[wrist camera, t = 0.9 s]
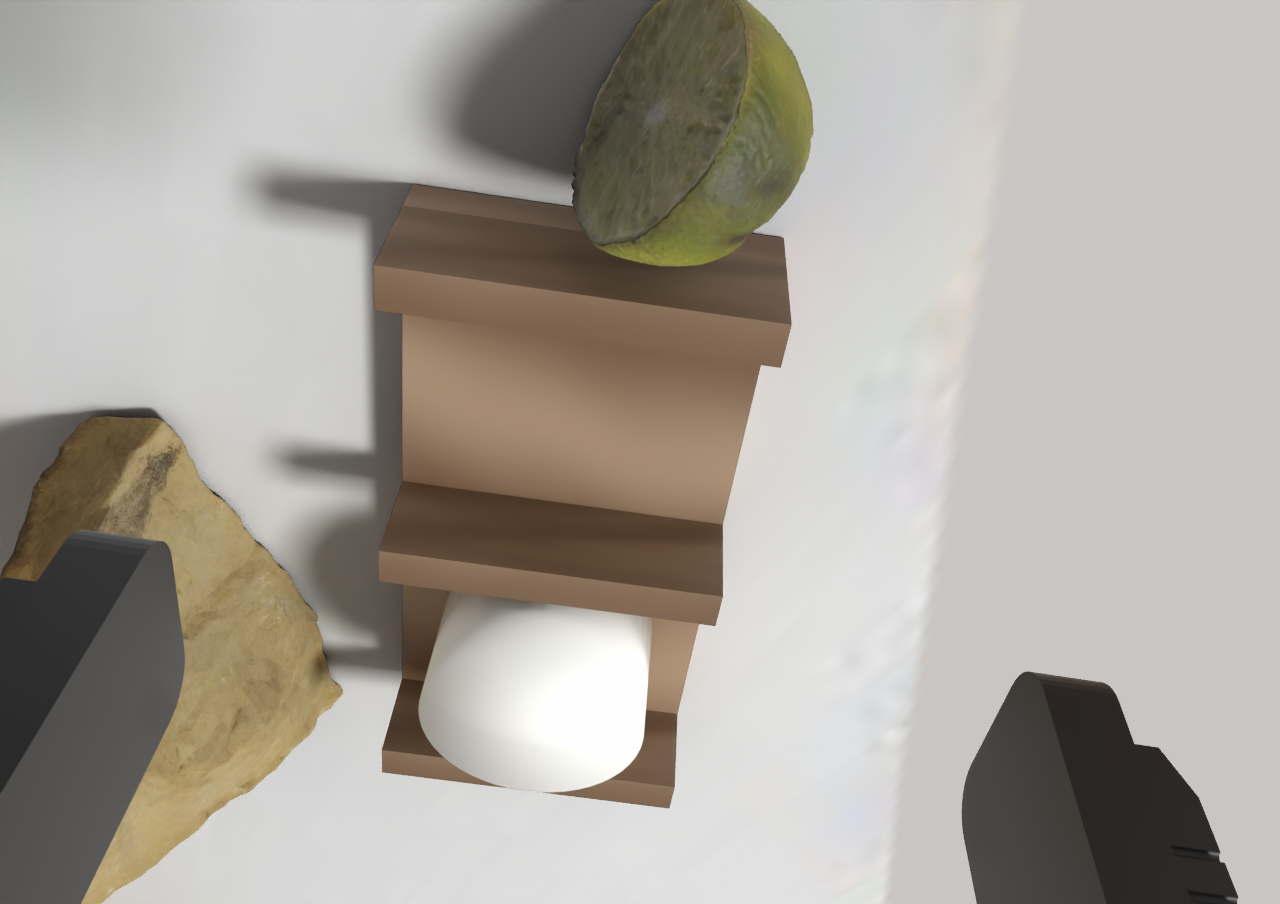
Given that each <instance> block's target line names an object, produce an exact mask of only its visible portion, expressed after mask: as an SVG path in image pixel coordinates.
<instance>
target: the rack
mask: <svg viewBox="0 0 1280 904" xmlns="http://www.w3.org/2000/svg"><path fill="white" fill-rule="evenodd" d="M373 268H374V310H376V311H384V312H391V313H398V314H402V483H401V486H400V489H399V492H398V495H397V498H396V501H395V504H394V507H393V510H392V513H391V516H390V519H389V521H388V524H387V527H386V530H385V533H384V536H383V539H382V542H381V545H380V548H379V551H378V554H379V582H387V583H395V584H402V681H401V684H400V688H399V691H398V695H397V698H396V702H395V706H394V709H393V713H392V716H391V720H390V723H389V727H388V730H387V734H386V737H385V741H384V745H383V748H382V772H385V773H393V774H401V775H408V776H416V777H424V778H432V779H440V780H448V781H456V782H464V783H472V784H480V785H488V786H496V787H502V786H498V785H495V784H492V783H489V782H486V781H483V780H481V779H479V778H476V777H474V776H472V775H470V774H468V773H466V772H464V771H463V770H461V769H459V768H458V767H456V766H455V765H453V764H452V763H450V762H449V761H448V760H447V759H445V758H444V757H443V756H442V755H441V754H440V753H439V752H438V751H437V750H436V749H435V748H434V747H433V746H432V744H431V743H430V741H429V740H428V739H427V737H426V735H425V733H424V731H423V729H422V726H421V723H420V720H419V711H418V708H419V700H420V696H421V692H422V689H423V685H424V682H425V678H426V674H427V671H428V667H429V663H430V660H431V656H432V652H433V649H434V645H435V642H436V638H437V634H438V631H439V627H440V623H441V620H442V616H443V612H444V609H445V605H446V602H447V598H448V595H449V592H450V591H455V592H462V593H470V594H478V595H485V596H493V597H500V598H508V599H515V600H523V601H530V602H538V603H546V604H553V605H561V606H568V607H576V608H583V609H591V610H598V611H606V612H613V613H621V614H629V615H636V616H644V617H651V618H652V624H653V625H652V638H651V651H650V663H649V676H648V689H647V702H646V714H645V727H644V738H643V742H642V746H641V749H640V750H639V752H638V754H637V756H636V757H635V759H634V760H633V761H632V762H631V763H630V765H628V766H627V767H626V768H625V769H624V770H623V771H622V772H620V773H618V774H617V775H615V776H614V777H612V778H610V779H608V780H606V781H604V782H602V783H599V784H596V785H594V786H591V787H587V788H583V789H579V790H572V791H566V792H543V793H551V794H559V795H567V796H575V797H583V798H591V799H599V800H607V801H615V802H623V803H630V804H638V805H646V806H654V807H662V808H669V807H670V803H671V799H672V795H673V791H674V787H675V762H676V736H677V713H678V709H679V705H680V701H681V696H682V692H683V688H684V684H685V680H686V676H687V671H688V667H689V663H690V659H691V655H692V650H693V646H694V642H695V638H696V634H697V630H698V625H699V624H704V625H712V626H715V625H716V621H717V617H718V613H719V609H720V606H721V602H722V598H723V521H724V517H725V513H726V508H727V504H728V500H729V496H730V492H731V487H732V483H733V479H734V475H735V471H736V467H737V462H738V458H739V454H740V450H741V446H742V441H743V437H744V433H745V429H746V425H747V421H748V416H749V412H750V408H751V404H752V400H753V395H754V391H755V387H756V383H757V379H758V375H759V370H760V366H761V365H765V366H773V367H780V368H781V364H782V360H783V356H784V352H785V349H786V345H787V341H788V337H789V333H790V329H791V314H790V303H789V292H788V281H787V270H786V258H785V247H784V238H780V237H773V236H766V235H759V234H752V233H751V234H750V235H749V236H748V238H747V239H746V240H745V241H744V242H743V243H742V244H741V246H740V247H738V248H737V249H736V250H734V251H733V252H731V253H730V254H729V255H726V256H724V257H722V258H720V259H717V260H714V261H712V262H708V263H705V264H702V265H695V266H657V265H649V264H646V263H639V262H636V261H632V260H627V259H623V258H620V257H617V256H614V255H611V254H609V253H607V252H605V251H603V250H601V249H599V248H597V247H596V246H595V245H593V244H592V243H591V242H590V241H589V240H588V238H587V234H586V233H584V232H583V229H582V227H581V226H580V225H579V221H578V218H577V216H576V212H575V211H574V209H573V207H567V206H560V205H553V204H547V203H540V202H533V201H526V200H519V199H512V198H505V197H499V196H492V195H485V194H478V193H471V192H464V191H457V190H451V189H444V188H437V187H430V186H423V185H416V184H413V185H412V187H411V189H410V191H409V193H408V195H407V197H406V199H405V201H404V203H403V205H402V207H401V209H400V211H399V213H398V216H397V218H396V220H395V222H394V224H393V226H392V228H391V230H390V232H389V234H388V236H387V238H386V240H385V242H384V244H383V246H382V249H381V251H380V253H379V255H378V257H377V259H376V261H375V263H374V265H373ZM504 788H506V787H504Z"/></svg>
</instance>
